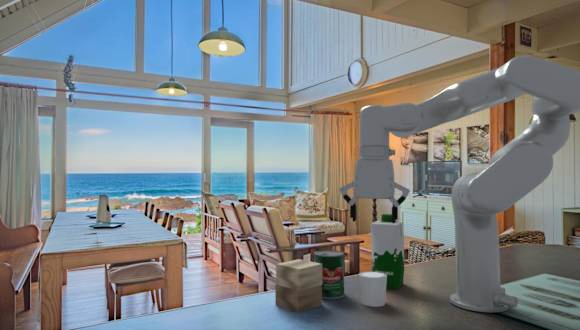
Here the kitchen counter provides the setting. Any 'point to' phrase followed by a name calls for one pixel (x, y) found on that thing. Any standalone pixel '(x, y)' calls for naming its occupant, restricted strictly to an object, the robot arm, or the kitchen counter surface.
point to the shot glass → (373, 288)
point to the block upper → (299, 274)
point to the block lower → (298, 298)
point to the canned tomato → (331, 273)
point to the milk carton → (388, 250)
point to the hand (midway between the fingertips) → (373, 221)
